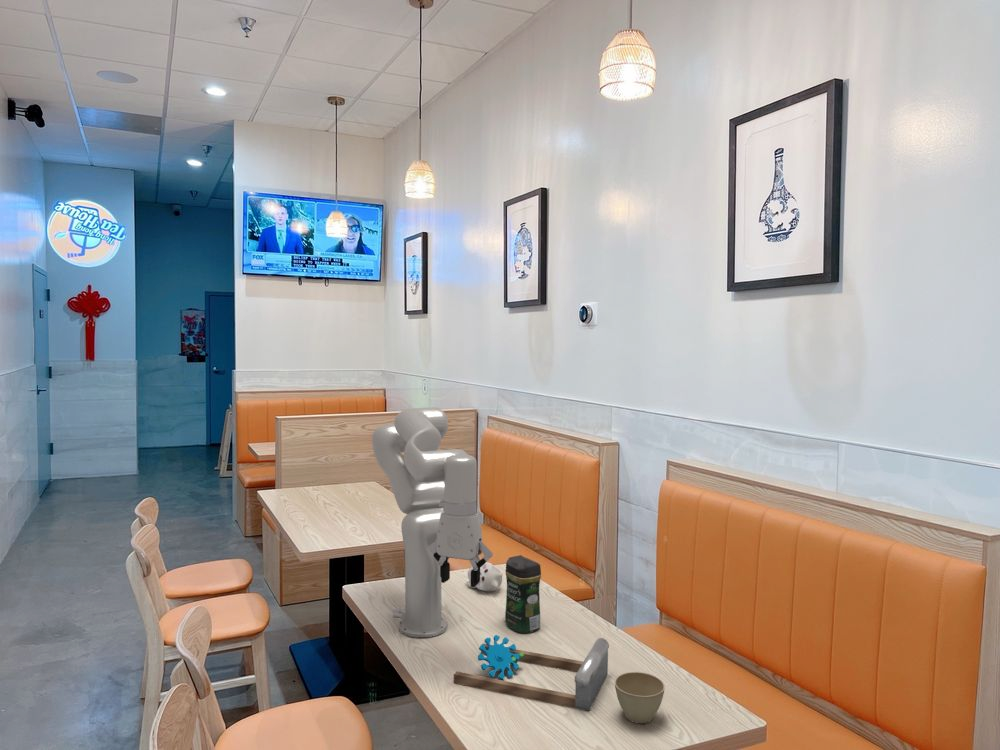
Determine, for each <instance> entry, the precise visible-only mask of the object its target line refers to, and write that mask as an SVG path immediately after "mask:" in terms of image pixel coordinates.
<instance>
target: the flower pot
mask: <svg viewBox="0 0 1000 750" xmlns="http://www.w3.org/2000/svg"><path fill="white" fill-rule="evenodd" d="M614 687H615V688H614V690H615V693H616V697H617V700H618V703H619V705H620V708H621V710H622V712H623V714H624V715H625V717H626V719H627V720H628V721H630V720H631V721H630V722H632V721H633V722H632V723H634V722H637V723H636V724H638V723H645V724H647V723H646V722H648V723H650V722H651V721H652V720H653V718H654V717H655V716H656V714H657V713H658V710H659V709H660V707H661V704H662V701H663V700H664V699H663V698H664V694H665V687H666V686H665V683H664V682H663V680H662V679H660V678H659V677H657V676H656V675H654V674H651V673H649V672H648V673H647V672H643V671H642V672H641V671H628V672H623V673H621V674H619V675H617V677H615V679H614ZM649 721H650V722H649Z"/></svg>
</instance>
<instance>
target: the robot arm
mask: <svg viewBox="0 0 1000 750" xmlns="http://www.w3.org/2000/svg"><path fill="white" fill-rule="evenodd" d="M448 428H449V420H448V416H447V414H446V412H445V411H444V410H443V409H441V408H439V407H415V408H413V407H412V408H411V407H410V408H405V409H403V410H401V411H400V412H398V414H396V416H395V417H394V421H393V423H387V424H383V425H380V426H378V427H377V428H376V429H374V431H373V433H372V435H371V436H372V437H371V444H372V449H373V450H372V451H373V454H374V457H375V461H377V464H378V465H379V467H380V468H381V470H382V471H383V472H384V474H385V476H386V477H387V479H388V482H389V484H390V487H391V490H392V494H393V496H394V499H395V501H396V504H397V506H398V508H399V510H400V511H401V512H402V513H403V514H406V515H405V516H404V517H403V518H402V521H401V526H400V527H401V528H400V529H401V535H402V542H403V549H404V571H405V572H404V573H405V574H404V575H405V576H404V578H405V579H404V581H405V583H404V592H405V593H404V594H405V595H404V596H405V598H404V599H405V600H404V602H405V603H404V604H405V605H404V608H402V607H397V606H395V607H394V608H393V614H392V618H393V619H394V618H395V619H400V620H401V622H399V625H398V626H399V632H400V633H401V632H402V633H401V634H403V633H404V634H405V636H407V635H408V636H407V637H410V636H411V637H410V638H416V637H426V638H431V637H432V636H433V637H436V636H439V635H442V634H443V633H444V632H445V631H446V630H447V629H448V622H447V620H446V619H445V618H443V617H442V584H445V583H446V582H447V581H449V580H450V579H451V573H450V571H451V565H450V562H448V561H449V559H455V560H464V561H469V562H470V566H471V567H473V569H472V570H471V587H475V586H476V585H477V584H478V583H479V582H480V568H481V567H482V566H483V565H484V564H485V563H486V562H488V561H489V560H490V559H491V558H492V557H493V555H494V554H493V552H492V551H491V550H490V549H489V547H487V546H486V544H484V542H483V533H482V524H481V517H480V514H479V513H477V495H478V494H477V487H478V485H477V484H478V483H477V479H478V477H477V473H478V472H477V471H478V470H477V467H478V466H477V464H478V463H477V459H476V457H474V456H473V455H471V454H468V453H467V452H466V451H464V449H461V448H460V449H459V448H453V449H452V448H451V449H439V447H440V446H441V442H442V439H443V438H444V437H445V436H446V434H447V432H448V430H449V429H448ZM402 453H403V454H402ZM482 554H483V557H480V555H482ZM480 558H482V559H481V560H480ZM404 634H403V635H404Z"/></svg>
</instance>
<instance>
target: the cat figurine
mask: <svg viewBox="0 0 1000 750" xmlns="http://www.w3.org/2000/svg"><path fill="white" fill-rule="evenodd" d="M479 558H480V560H481V559H482V558H483V557H479ZM472 569H473V567H472V566H471V567H470V568H469V569H468V570H467V578H468V580H469V581H468V582H467V585H468V587H469V588H470V587H471V570H472ZM502 582H503V573H502V572H501V571H500V569H499V568H498V567H496V566H495V565H493V564H492V563H491V562H488V561H487V562H486V563H485V564H484V565H483V566H482V567H481V568H480V582H479V583H478V584H477V585H476V586H475V587H471V589H477V590H479V591H480V590H481V591H483V592H492V591H496V590H498V589H500V587H501V585H502Z"/></svg>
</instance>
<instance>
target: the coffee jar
mask: <svg viewBox="0 0 1000 750" xmlns="http://www.w3.org/2000/svg"><path fill="white" fill-rule="evenodd" d="M505 563H506V565H505V576H506V577H505V578H506V595H505V596H506V601H505V613H504V614H505V616H504V617H505V619H504V623H505V624H506V626H508V627H509V628H510V629H512V630H513V631H515V632H517V633H520V634H521V633H522V634H524V633H529V634H530V633H534V632H536V631H537V630H539V629H540V628H541V604H540V585H541V584H540V583H541V582H540V581H541V579H542V569H541V564H540V563H539V562H537V561H535V560H532V559H530V558H528V557H525V556H523V555H522V554H520V555H513V556H510V557H508V559H507V561H506V562H505Z"/></svg>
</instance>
